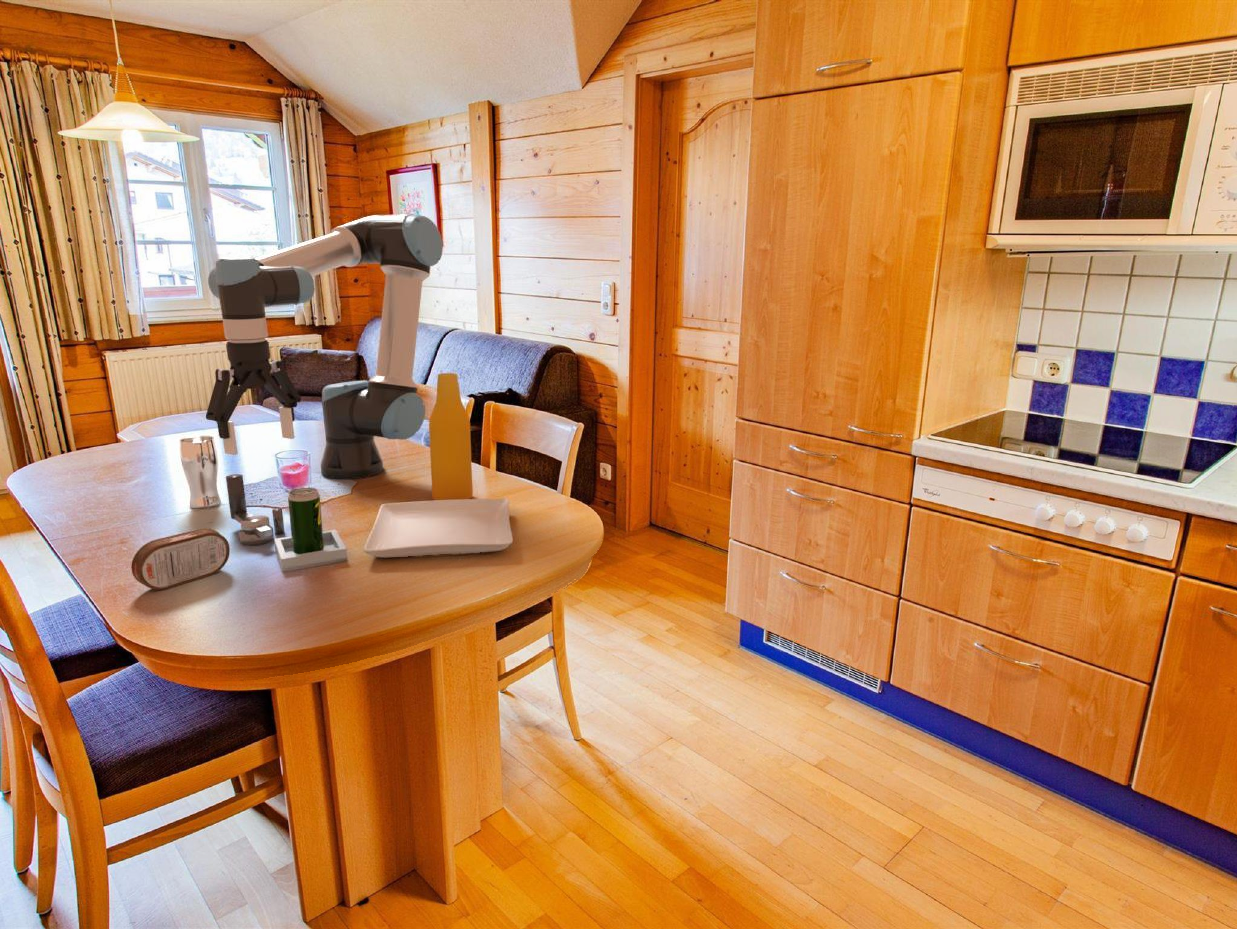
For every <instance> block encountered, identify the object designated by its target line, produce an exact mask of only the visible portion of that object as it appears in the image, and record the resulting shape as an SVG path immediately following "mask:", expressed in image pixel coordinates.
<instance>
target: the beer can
mask: <svg viewBox="0 0 1237 929" xmlns="http://www.w3.org/2000/svg"><path fill="white" fill-rule="evenodd" d="M287 500H288V501H287V502H288V511H289V522H290V523H289V525H290V531H291V532H290V533H291V536H292V545H293V552H294V554H295V555H298V554H304V553H310V552H316V551H322V550H323V549H324V542H323V531H324V530H323V520H322V509H321V508H322V507H321V495H320V493H319V490H318V489H317V488H315V487H299V488H298V487H297V488H294V489H292V490H290V491H289V492H288V497H287Z"/></svg>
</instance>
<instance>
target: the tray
mask: <svg viewBox="0 0 1237 929" xmlns="http://www.w3.org/2000/svg"><path fill="white" fill-rule="evenodd" d="M273 540H274V542H273V543H274V548H275V549H274V550H275V553H276V556H277V557H276V558H277V560H278V562H279V565H280V568H281V571H282V572H283V573H285V572H289V571H296V570H300V569H306V568H308V569H309V568H312V567H313V568H314V567H319V566H325V565H330V564H336V563H340V562H341V563H342V562H347V561H348V555H347V554H348V553H347V548H346V545H345V544H344V542H343V540H342V539H341V537H340V535H339V533H338V532H337V530H336V529H331V530H330V529H329V530H323V542H324V549H323V550H322V551H316V552H310V553H304V554H298V555H295V554H294V552H293V545H292V535H291V536H285V537H278V538H274V539H273Z"/></svg>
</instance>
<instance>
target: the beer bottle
mask: <svg viewBox="0 0 1237 929" xmlns="http://www.w3.org/2000/svg"><path fill="white" fill-rule="evenodd" d="M436 384H437V385H436V398H435V404H434V406H433V408H432V411H431V414H430V417H429V420H428V434H429V435H428V436H429V451H430V452H429V454H430V456H429V457H430V473H431V496H432V500H433V501H435V500H460V499H470V498H471V497H472V498H473V492H474V491H473V469H472V443H471V442H472V441H471V439H472V438H471V421H470V416H469V414H468V412H467V411H466V408H465V406H464V404H463V402H462V397H461V391H460V386H459V384H460V383H459V379H458V374H457V373H451V372H448V373H446V372H445V373H439V374H437V383H436ZM472 498H471V499H472Z"/></svg>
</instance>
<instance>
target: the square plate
mask: <svg viewBox="0 0 1237 929" xmlns="http://www.w3.org/2000/svg"><path fill="white" fill-rule="evenodd" d="M509 512H510V501H509V499H508V498H505V497H503V498H471V499H460V500H435V501H434V500H420V501H408V502H391V503H390V502H389V503H384V504H383V503H382V504H381V505H380V507H379V510H378V512H377V515H376V518H375V521H374V524H373V526H372V528H371V530H370V533H369V535H368V537H367V540H366V542H365V545H364V547H363V551H364V553H366V554H368V555H369V556H372V557H375V558H409V557H408V556H414V557H424V556H423V555H433V556H439V555H438V554H452V555H460V554H459V553H473V554H480V552H482V553H493V552H498V551H499V552H500V551H503V550H505V549H507V548H508V547H509V546H511V545H512V544H513V541H514V538H513V533H512V527H511V523H510V513H509Z"/></svg>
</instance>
